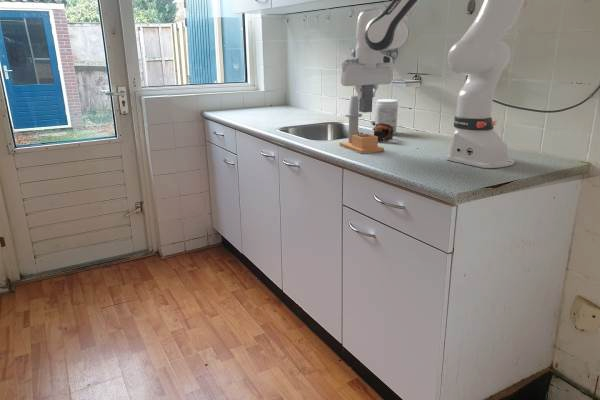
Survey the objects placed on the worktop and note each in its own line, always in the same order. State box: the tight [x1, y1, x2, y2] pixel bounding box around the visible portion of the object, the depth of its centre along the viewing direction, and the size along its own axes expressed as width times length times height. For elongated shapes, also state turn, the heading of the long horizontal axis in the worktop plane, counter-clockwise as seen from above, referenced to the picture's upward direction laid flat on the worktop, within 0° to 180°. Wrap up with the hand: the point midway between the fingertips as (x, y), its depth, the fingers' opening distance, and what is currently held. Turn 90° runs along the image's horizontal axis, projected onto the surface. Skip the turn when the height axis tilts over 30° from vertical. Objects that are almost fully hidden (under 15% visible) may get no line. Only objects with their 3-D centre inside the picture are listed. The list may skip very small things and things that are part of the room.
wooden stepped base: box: [339, 95, 385, 154], centre depth 170 cm, size 17×10×19 cm, turn 24°
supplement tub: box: [374, 98, 399, 135], centre depth 200 cm, size 10×10×15 cm
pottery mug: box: [372, 123, 394, 144], centre depth 185 cm, size 12×10×8 cm
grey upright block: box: [359, 85, 374, 114], centre depth 165 cm, size 4×4×10 cm
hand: (366, 97), depth 165 cm, fingers closed on grey upright block, 3 cm apart
